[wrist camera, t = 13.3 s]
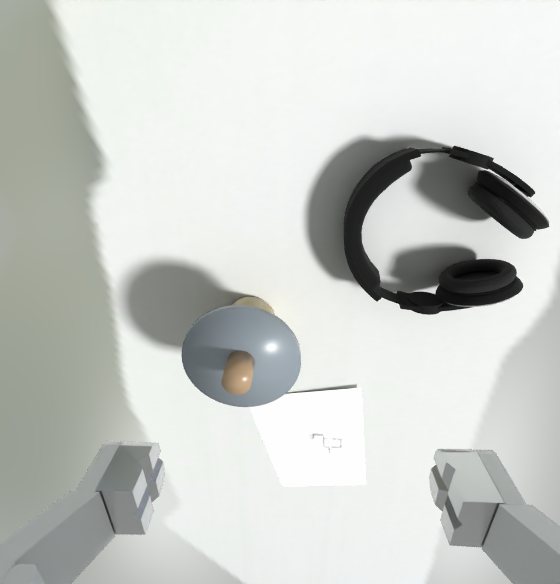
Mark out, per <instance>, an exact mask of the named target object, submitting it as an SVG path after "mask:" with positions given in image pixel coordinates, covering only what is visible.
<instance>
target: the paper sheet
mask: <svg viewBox="0 0 560 584" xmlns="http://www.w3.org/2000/svg"><path fill="white" fill-rule="evenodd" d="M249 409H250V411H251V414H252V416H253V418H254V421H255V423H256V426H257V428H258V430H259V433H260V435H261V437H262V440H263V442H264V445H265V447H266V449H267V452H268V454H269V457H270V459H271V461H272V464H273V466H274V469H275V471H276V473H277V476H278V478H279V480H280V483H281V485H282V487H296V486H336V485H366V470H365V447H364V424H363V401H362V388H350V389H338V390H327V391H315V392H303V393H291V394H284V395H283V396H282V397H280V398H279V399H277V400H275V401H273V402H270V403H268V404H264V405H260V406H254V407H249Z"/></svg>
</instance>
